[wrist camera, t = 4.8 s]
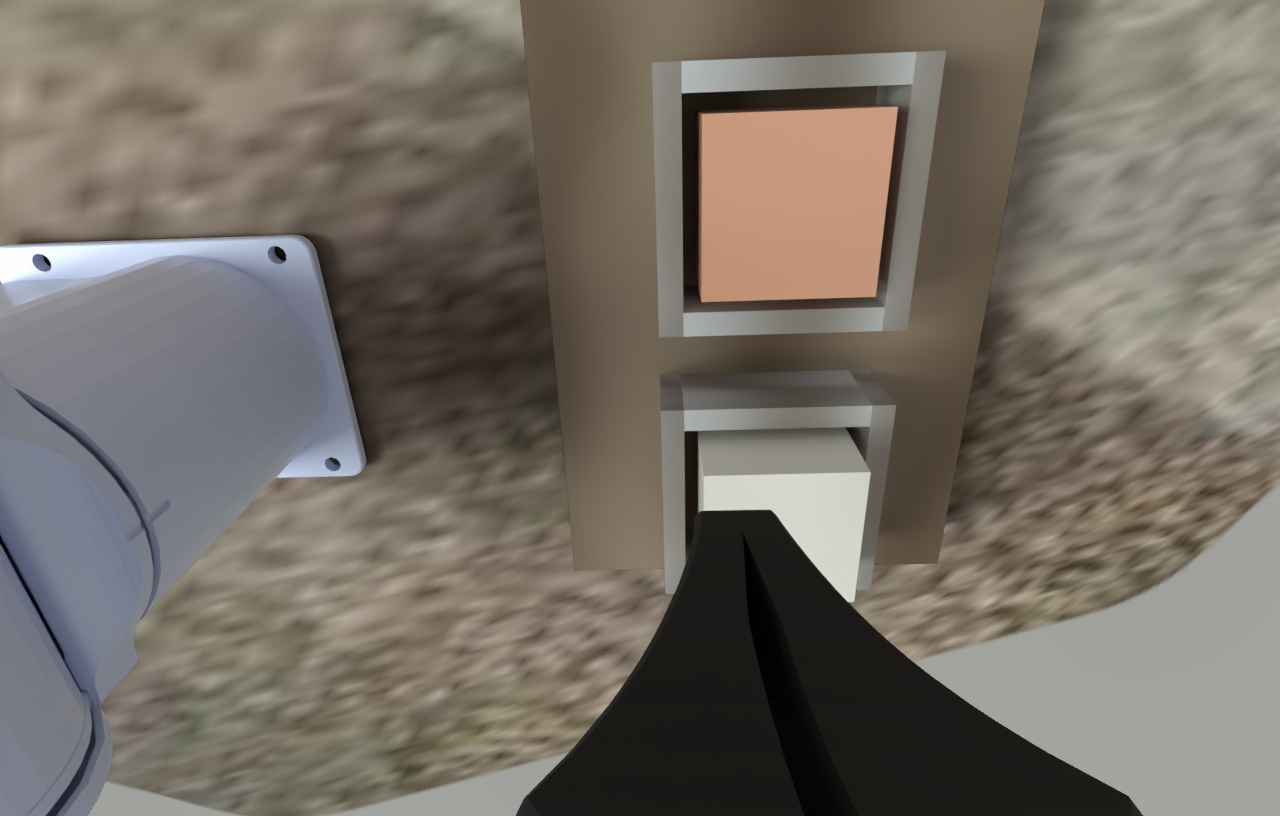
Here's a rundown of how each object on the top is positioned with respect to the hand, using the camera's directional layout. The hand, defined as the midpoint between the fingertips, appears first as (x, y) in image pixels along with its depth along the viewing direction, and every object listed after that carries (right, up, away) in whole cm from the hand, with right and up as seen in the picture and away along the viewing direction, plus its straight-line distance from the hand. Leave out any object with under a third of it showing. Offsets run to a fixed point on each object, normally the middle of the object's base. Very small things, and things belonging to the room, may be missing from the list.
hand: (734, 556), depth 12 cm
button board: (+2, +9, +7) cm, 12 cm away
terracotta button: (+2, +8, +5) cm, 10 cm away
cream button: (+2, 0, +7) cm, 8 cm away
